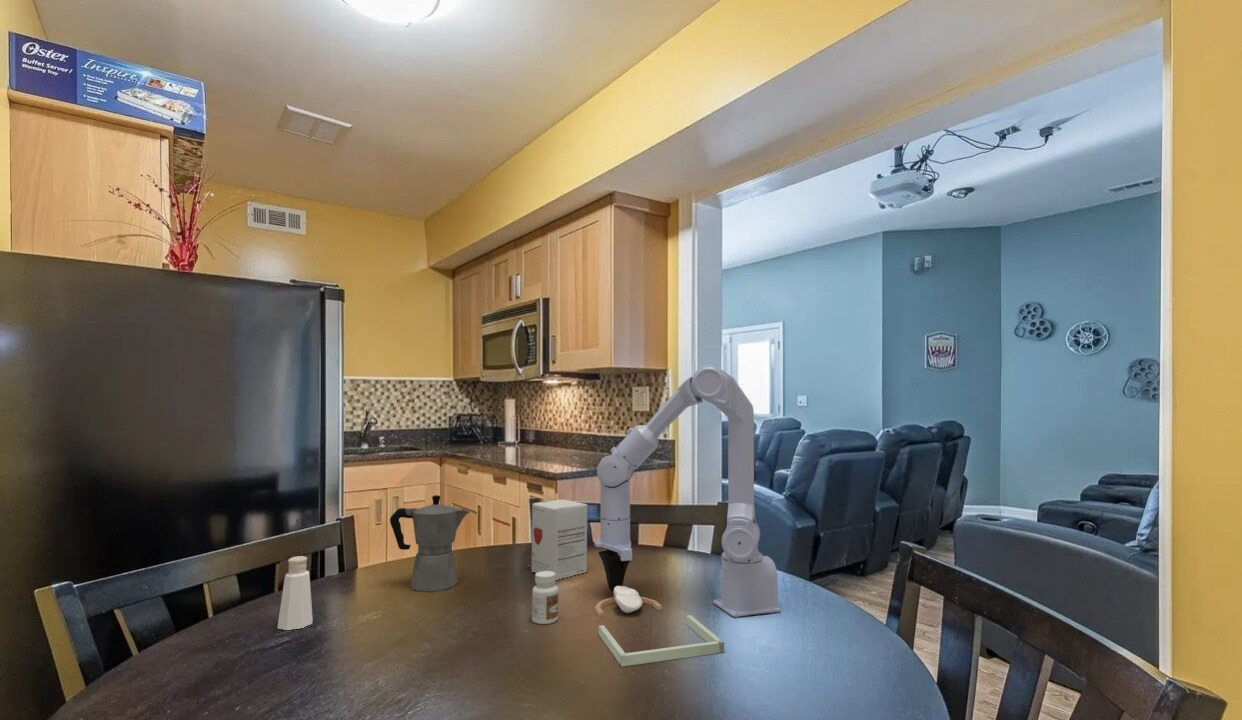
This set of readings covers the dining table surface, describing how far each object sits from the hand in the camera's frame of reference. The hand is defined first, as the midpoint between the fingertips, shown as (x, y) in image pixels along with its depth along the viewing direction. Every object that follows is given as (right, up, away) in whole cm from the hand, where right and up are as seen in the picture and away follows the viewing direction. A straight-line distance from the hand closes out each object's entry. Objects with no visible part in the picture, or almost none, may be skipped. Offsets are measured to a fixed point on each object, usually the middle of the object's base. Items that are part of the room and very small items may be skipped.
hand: (615, 590), depth 113 cm
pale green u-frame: (+7, 0, -22) cm, 23 cm away
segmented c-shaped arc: (+2, -1, -6) cm, 6 cm away
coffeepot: (-38, -2, +7) cm, 38 cm away
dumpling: (+2, -1, -8) cm, 8 cm away
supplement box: (-12, -3, +16) cm, 20 cm away
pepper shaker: (-53, 0, -15) cm, 55 cm away
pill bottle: (-12, -1, -12) cm, 17 cm away
